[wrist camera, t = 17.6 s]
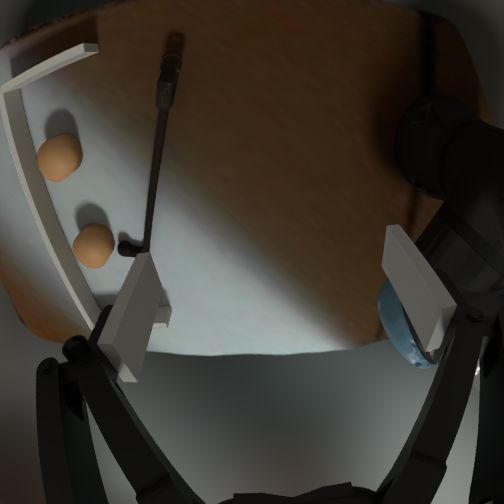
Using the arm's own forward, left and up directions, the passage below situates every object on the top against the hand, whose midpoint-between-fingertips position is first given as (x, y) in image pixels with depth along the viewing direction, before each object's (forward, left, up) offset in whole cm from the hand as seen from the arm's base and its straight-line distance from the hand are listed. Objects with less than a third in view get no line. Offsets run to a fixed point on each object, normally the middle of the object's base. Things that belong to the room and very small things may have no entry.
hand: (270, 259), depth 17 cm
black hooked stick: (+15, 0, -25) cm, 29 cm away
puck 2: (+26, +10, -25) cm, 38 cm away
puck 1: (+27, -4, -25) cm, 37 cm away
